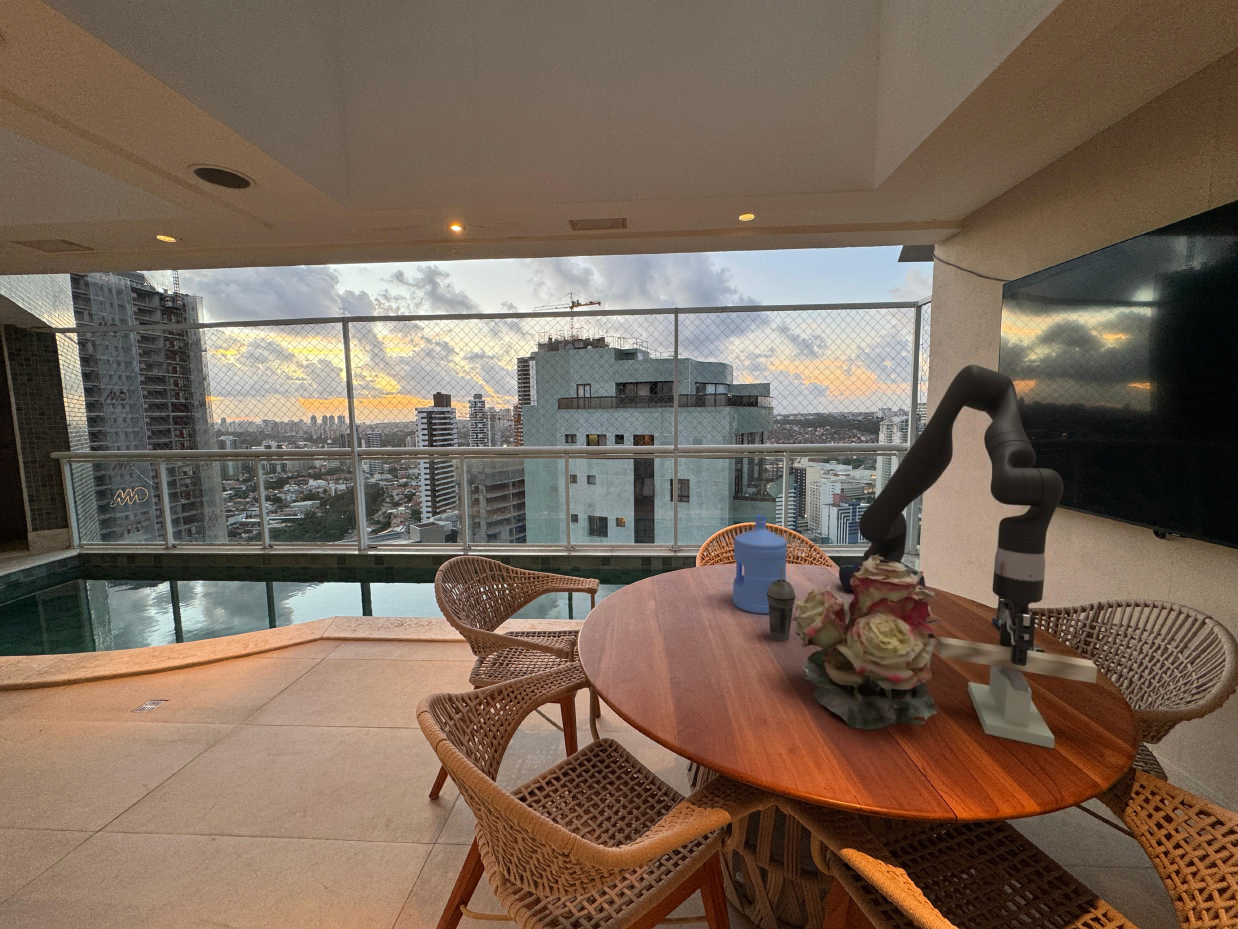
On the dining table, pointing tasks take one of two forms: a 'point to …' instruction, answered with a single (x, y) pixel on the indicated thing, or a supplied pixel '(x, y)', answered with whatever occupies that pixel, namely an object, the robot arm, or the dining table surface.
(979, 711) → the stand
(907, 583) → the rose bouquet
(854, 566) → the portable speaker
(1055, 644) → the dining table surface
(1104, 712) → the dining table surface
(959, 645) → the bar
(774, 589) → the beverage cup
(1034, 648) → the knife
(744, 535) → the water jug
